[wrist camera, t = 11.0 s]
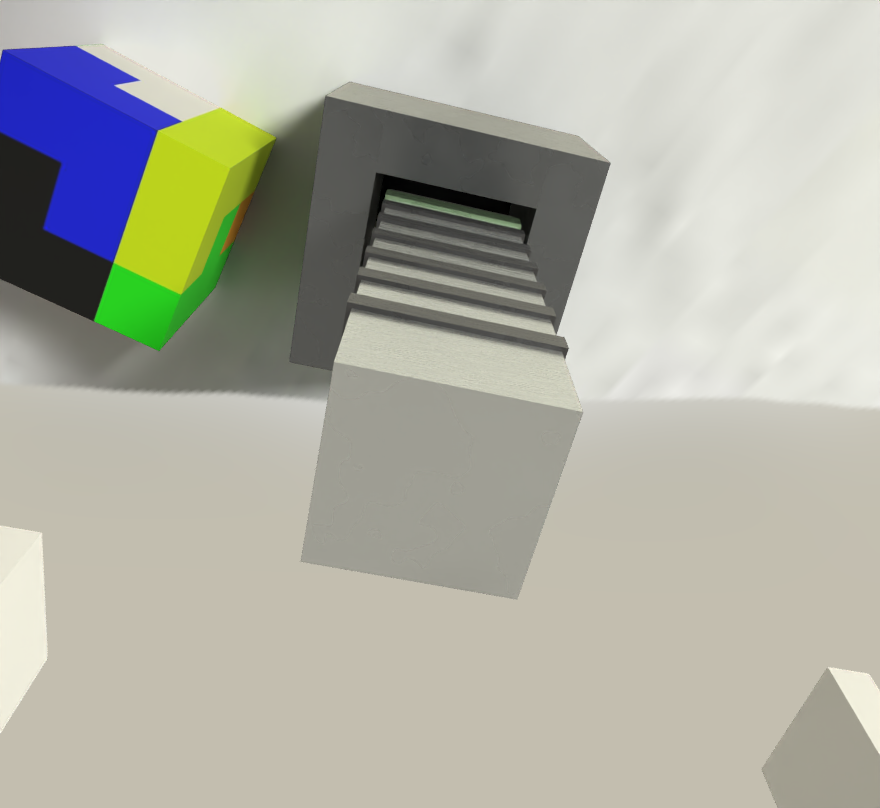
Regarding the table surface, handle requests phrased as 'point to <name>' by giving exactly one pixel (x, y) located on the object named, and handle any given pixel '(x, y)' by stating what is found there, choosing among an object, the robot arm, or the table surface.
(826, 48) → the table surface
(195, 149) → the puzzle toy
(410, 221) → the column
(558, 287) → the housing
